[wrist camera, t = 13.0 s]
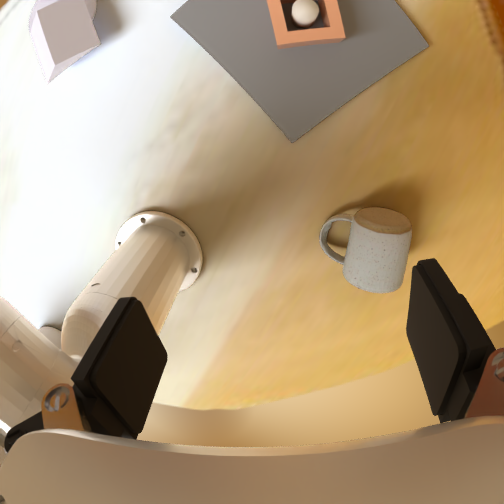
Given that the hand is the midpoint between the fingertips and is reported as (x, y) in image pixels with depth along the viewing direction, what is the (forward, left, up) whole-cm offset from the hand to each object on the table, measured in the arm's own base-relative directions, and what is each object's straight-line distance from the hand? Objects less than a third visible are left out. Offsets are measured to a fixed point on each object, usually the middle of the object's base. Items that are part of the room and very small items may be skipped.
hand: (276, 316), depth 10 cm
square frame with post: (+12, +12, -27) cm, 32 cm away
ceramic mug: (+1, -15, -28) cm, 32 cm away
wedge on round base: (-8, +31, -28) cm, 43 cm away
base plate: (+11, +10, -28) cm, 32 cm away
